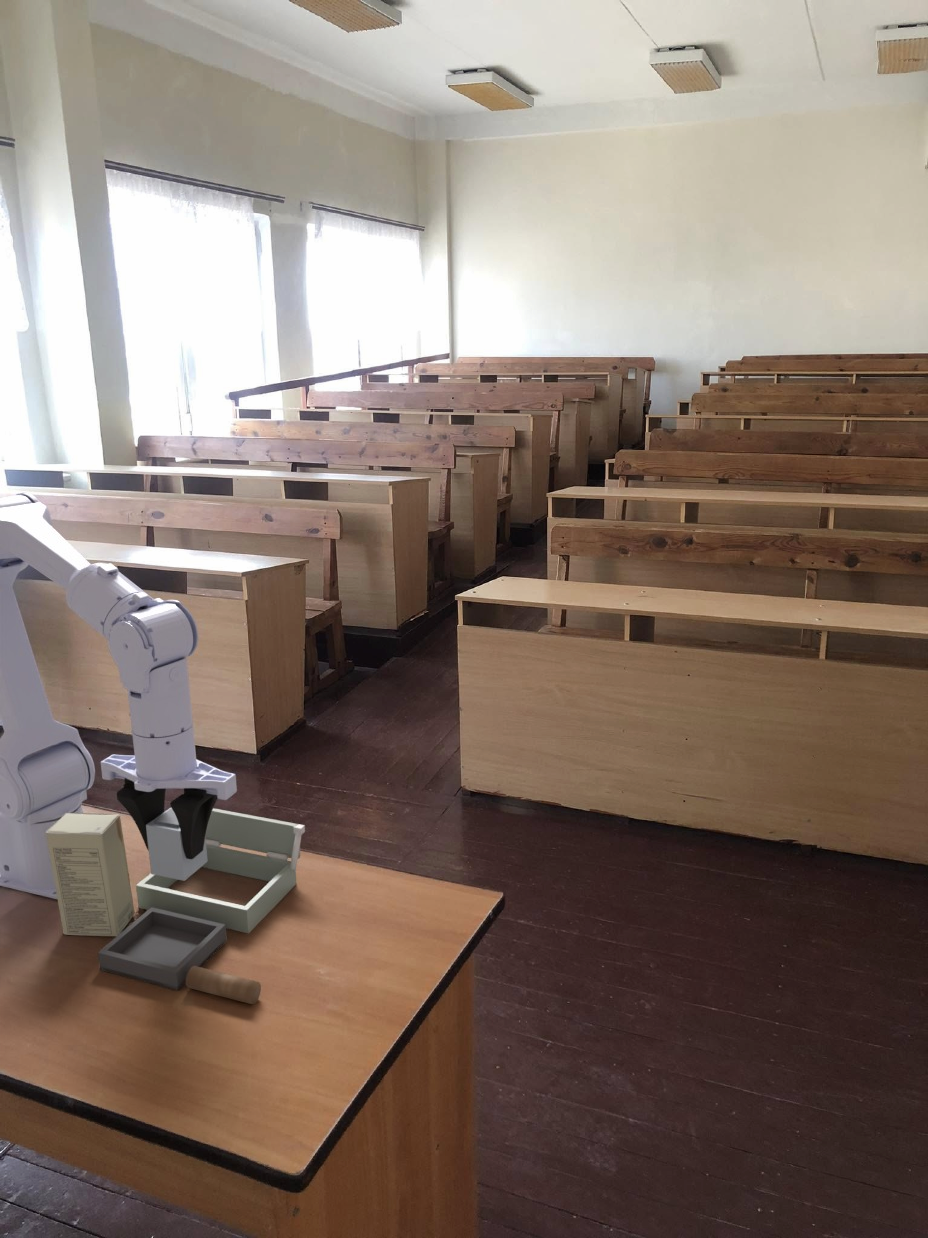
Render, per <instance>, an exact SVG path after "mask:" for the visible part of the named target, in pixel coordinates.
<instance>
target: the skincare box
mask: <svg viewBox="0 0 928 1238" xmlns="http://www.w3.org/2000/svg"><path fill="white" fill-rule="evenodd" d="M46 837H47V842H48V848H49V854H50V859H51V865H52V871H53V876H54V882H55V887H56V893H57V899H56V900H57V903H58V904H57V905H58V909H59V915H60V921H61V925H62V926H61V927H62V932H63V935H65V936H66V935H70V936H87V937H88V936H93V937H97V936H98V937H117V936H118V935H119V934H120V933H121V932H123V931H124V930H125V929H126V926H127V925H128V924H129V923H130V921H131V920H132V918H133V917H134V915H135V913H136V912H135V907H134V899H133V898H134V897H133V893H132V887H131V882H130V881H131V879H130V873H129V866H128V860H127V853H126V847H125V840H124V839H125V838H124V833H123V826H122V820H121V815H120V813H90V812H89V813H88V812H87V813H86V812H85V813H84V812H83V813H66V814H65V815H64V816H63V817H62V818H60V819H59V820H58V821H57V822H56V823H55V824H54V825H53V826H52V827H50V828H49V829H48V830H47V831H46Z"/></svg>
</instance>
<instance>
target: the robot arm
mask: <svg viewBox="0 0 928 1238" xmlns="http://www.w3.org/2000/svg"><path fill="white" fill-rule="evenodd" d="M28 566H30V567H32V568H33V569H35V570H36V571H38V572H39V573H40V574H42V575H43V576H44V577H46V578H48V579H49V580H51V581H52V582H54V583H55V584H57V585H58V586H59V587H61V588H62V589H64V590H65V591H66V592H65V600H66V601H65V602H66V605H67V606H68V608H69V609H70V610H71V611H73V612H74V614H76V615H77V616H79V617H80V619H82V620H84V621H85V622H86V623H87V624H88V625H89V626H90V627H92V629H94V630H96V632H98V634H100V635H101V636H102V637H103V638H105V639H106V641H107V642H106V643H107V647H108V650H109V653H110V656H111V658H112V660H113V661H114V663H115V664H116V667H117V670H118V674H119V681H120V683H122V687H123V688H124V689H126V690H127V698H128V699H127V700H128V708H129V715H130V717H129V718H130V725H131V734H132V735H131V736H132V742H133V752H134V755H125V754H111V755H110V756H108V757H106V758H104V759H103V760H101V761H100V769H101V776H102V777H101V778H102V780H107V781H113V780H114V779H122V780H124V784H123V787H122V788H121V789H119V790H118V791H117V792H116V800H117V801H118V803H120V804H121V805H122V806H123V808H125V810H126V811H127V812H128V814H129V815H130V817H131V818H132V820H133V822H134V824H135V825H136V827H137V829H138V830H139V833H140V835H141V838H142V840H143V843H144V845H145V847H146V850H147V852H149V849H148V840H147V830H146V825H147V824H148V823H150V822H151V821H152V820H154V819H155V818H157V817H158V816H159V815H161V814H162V813H164V812H165V801H166V800H165V798H166V791H167V789H180V790H183V793H181V794H180V795H178V796H177V797H176V798H175V799H173V800H171V801H170V803H169V805H170V808H172V809H173V811H174V813H175V815H176V817H177V820H178V823H179V826H180V830H181V834H182V842H183V850H184V853H185V856H186V859H194V858H195V857H196V856H197V855H198V854H199V853H201V852H202V851H203V847H204V840H205V835H206V830H207V825H208V822H209V818H210V815H211V812H212V810H213V808H214V807H215V806H216V802H217V801H218V800H222V801H227V800H228V799H229V798H231V797H232V796H233V795H234V794H236V793H237V792H238V789H237V787H238V785H237V776H236V773H232V772H229V771H224V770H222V769H219V768H217V767H215V766H212V765H210V764H208V763H206V762H203V761H201V760H199V759H197V754H196V753H197V752H196V743H195V742H196V741H195V733H194V731H195V730H194V720H193V709H192V701H191V700H192V698H191V689H190V679H189V667H188V659H187V657H190V656H192V655H193V654H194V653H195V652H196V650H197V648H198V643H199V630H198V626H197V623H196V621H195V618H194V616H193V615H192V613H191V612H190V611H189V609H188V608H186V606H184V605H183V603H182V602H181V601H179V600H177V599H167V600H164V599H162V598H161V597H157V598H153V597H152V596H151V595H149V594H148V593H147V592H146V591H145V590H143V589H142V588H140V587H139V586H138V585H136V584H135V583H134V582H133V581H131V580H130V579H129V578H128V577H127V576H125V575H124V574H122V573H121V572H120V570H119V568H118V567H116V566H115V565H114V564H113V563H111V562H110V563H107V562H97V563H96V562H95V563H90V562H89V561H88V560H87V559H86V558H85V556H83V554H81V553H80V552H79V551H78V550H77V549H76V548H75V547H74V546H73V545H72V544H71V543H70V542H69V541H68V540H66V538H64V537H63V535H61V533H60V532H59V531H57V530H56V529H55V528H54V527H53V523H52V518H51V515H50V511H49V508H48V506H47V505H45V504H43V503H41V501H40V500H39V499H38V498H37V497H35V495H34V494H32V493H29V492H21V493H16V494H15V495H9V496H8V495H7V496H1V497H0V723H1V725H2V728H3V733H2V735H1V736H0V887H4V888H8V889H11V890H17V891H21V892H26V893H30V894H34V895H38V896H41V897H46V898H50V899H55V900H58V899H57V893H56V887H55V882H54V876H53V871H52V865H51V859H50V854H49V848H48V842H47V837H46V831H47V830H48V829H49V828H50V827H52V826H53V825H54V824H55V823H56V822H57V821H58V820H59V819H60V818H62V817H63V816H64V815H65V814H66V813H84V810H83V804H82V803H83V802H84V801H86V800H87V799H88V796H87V795H88V794H87V790H89V789H90V788H92V786H93V785H94V781H95V778H96V777H95V776H96V769H95V767H96V766H95V762H94V760H93V757H92V755H91V753H90V752H89V750H88V749H87V748H86V747H85V745H84V743H83V740H82V739H81V736H80V734H79V730H78V729H77V728H75V727H73V726H71V725H68V724H65V723H62V722H60V721H57V720H55V719H54V717H53V716H54V715H53V713H52V709H51V706H50V702H49V701H48V697H47V695H46V690H45V687H44V684H43V681H42V678H41V675H40V672H39V668H38V665H37V662H36V658H35V655H34V652H33V648H32V645H31V643H30V639H29V636H28V633H27V629H26V625H25V623H24V620H23V616H22V612H21V611H20V607H19V604H18V601H17V597H16V594H15V591H14V588H13V587H14V583H15V581H16V578H17V577H18V575H19V573H20V572H21V571H23V570H25V569H26V568H27V567H28Z"/></svg>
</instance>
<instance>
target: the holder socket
mask: <svg viewBox="0 0 928 1238" xmlns="http://www.w3.org/2000/svg"><path fill="white" fill-rule="evenodd" d="M226 929H227V928H226V926H225V924H221V923H217V922H213V921H208V920H204V919H200V918H195V917H191V916H187V915H183V914H178V913H174V912H170V911H165V910H161V909H157V908H153V907H151V908H150V909H149V910H146V911H145V912H144V913H143V914H141V915H140V916H139V917H138V918H137V919H135V920H134V921H133V922H132V923H131V924H130V925H128V926H127V927H125V928H124V929H123V930H122V932H121V933H120V934H119V935H118V936H115V937H114V938H113V939H112V940H110V941H109V943H107V944H106V945H104V947H102V948H101V949H100V950H99V951H98V952H97V959H98V966H99V971H102V972H106V973H111V974H113V975H117V976H121V977H125V978H129V979H132V980H136V981H139V982H144V983H148V984H152V985H155V986H159V987H163V988H167V989H170V990H173V991H174V990H175V991H179V990H180V989H182V987H183V986H184V985H186V976H187V974H188V972H189V970H190V969H191V968H192V967H193V966H197V967H201V968H203V966H204V965H205V964H207V962H208V961H209V960H210V959H211V958H212V957H213V956H215V954H216V953H217V952H218V951H219V950H220V949H221V948H222V947H223V946H224V945H225V944H226V943H227V942H228V941H227V940H228V939H227V930H226Z"/></svg>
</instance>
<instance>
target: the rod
mask: <svg viewBox="0 0 928 1238" xmlns="http://www.w3.org/2000/svg"><path fill="white" fill-rule="evenodd" d="M185 986H186V987H187V988H189V989H192V990H196V991H199V992H204V993H207V994H211V995H215V996H219V997H223V998H226V999H230V1000H234V1001H238V1002H241V1003H245V1004H250V1005H255V1004H256V1002H257V1001H258V1000H259V998H260V995H261V990H262V984H261V983H260V982H259V981H255V980H252V979H248V978H243V977H240V976H237V975H233V974H229V973H226V972H225V973H224V972H222V971H221V972H220V971H217V970H212V969H210V968H206V967H205V968H204V967H197V966H193V967H192V968H191V969H190V970H189V972H188V974H187V976H186V983H185Z"/></svg>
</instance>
